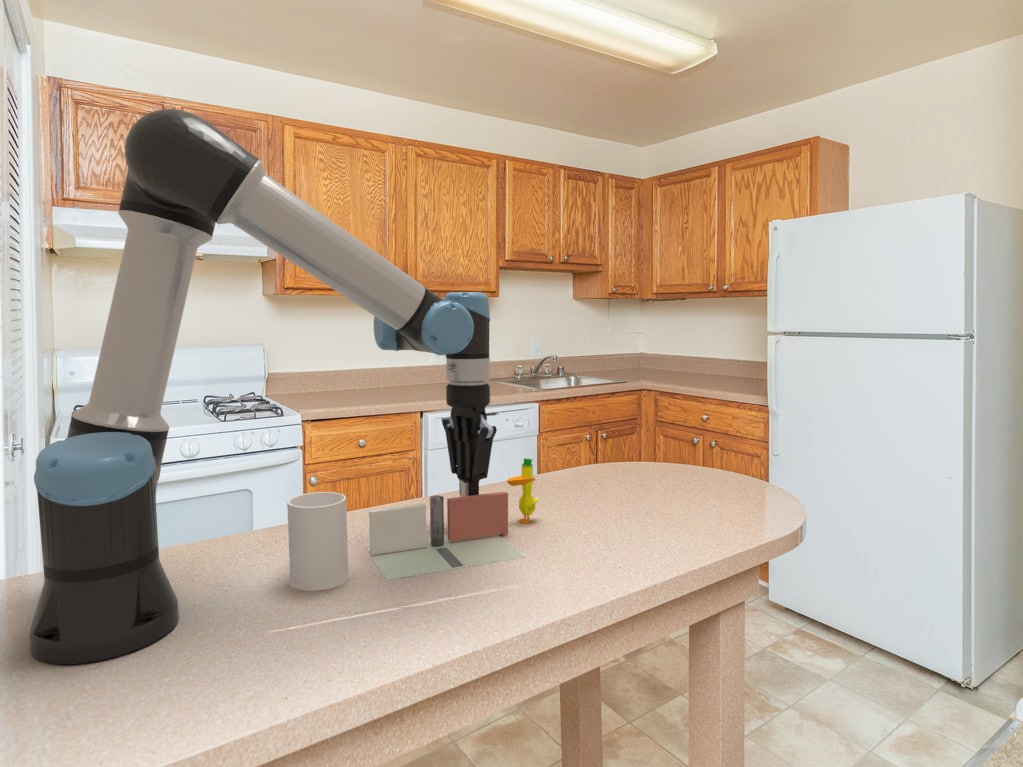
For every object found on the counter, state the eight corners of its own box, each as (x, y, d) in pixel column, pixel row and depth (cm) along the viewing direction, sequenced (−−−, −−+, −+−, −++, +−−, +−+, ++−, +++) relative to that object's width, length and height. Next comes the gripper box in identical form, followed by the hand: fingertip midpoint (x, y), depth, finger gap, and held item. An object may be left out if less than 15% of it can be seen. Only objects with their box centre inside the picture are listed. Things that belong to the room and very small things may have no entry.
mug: (273, 571, 97) (270, 492, 95) (328, 558, 102) (326, 483, 101) (300, 598, 87) (297, 511, 86) (359, 582, 93) (357, 500, 91)
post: (432, 547, 105) (432, 499, 105) (429, 543, 107) (428, 496, 107) (445, 545, 106) (445, 498, 105) (441, 541, 108) (441, 494, 107)
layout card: (386, 582, 92) (386, 579, 92) (365, 548, 106) (365, 546, 106) (525, 558, 101) (525, 556, 101) (490, 530, 115) (490, 528, 115)
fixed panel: (371, 555, 102) (370, 512, 101) (369, 553, 103) (368, 510, 102) (426, 547, 106) (425, 505, 105) (424, 545, 107) (423, 503, 106)
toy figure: (513, 529, 115) (512, 463, 114) (502, 523, 118) (502, 459, 117) (544, 522, 119) (544, 458, 118) (533, 517, 122) (533, 455, 121)
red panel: (450, 541, 107) (449, 500, 106) (447, 539, 108) (447, 498, 107) (508, 532, 111) (508, 493, 111) (505, 530, 112) (505, 491, 112)
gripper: (428, 381, 114) (431, 511, 116) (473, 387, 104) (474, 530, 106) (463, 378, 119) (464, 504, 121) (509, 384, 109) (509, 520, 111)
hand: (469, 516), depth 114 cm, fingers closed
